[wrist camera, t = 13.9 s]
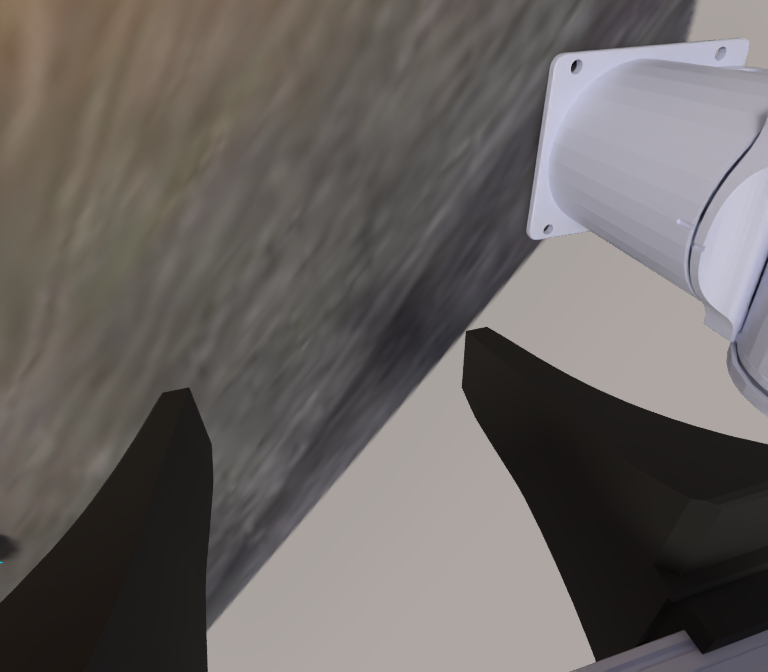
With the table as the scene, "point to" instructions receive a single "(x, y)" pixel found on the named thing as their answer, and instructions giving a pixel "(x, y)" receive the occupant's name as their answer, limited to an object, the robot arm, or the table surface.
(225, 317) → the table surface
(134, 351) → the table surface
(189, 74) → the table surface
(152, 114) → the table surface
